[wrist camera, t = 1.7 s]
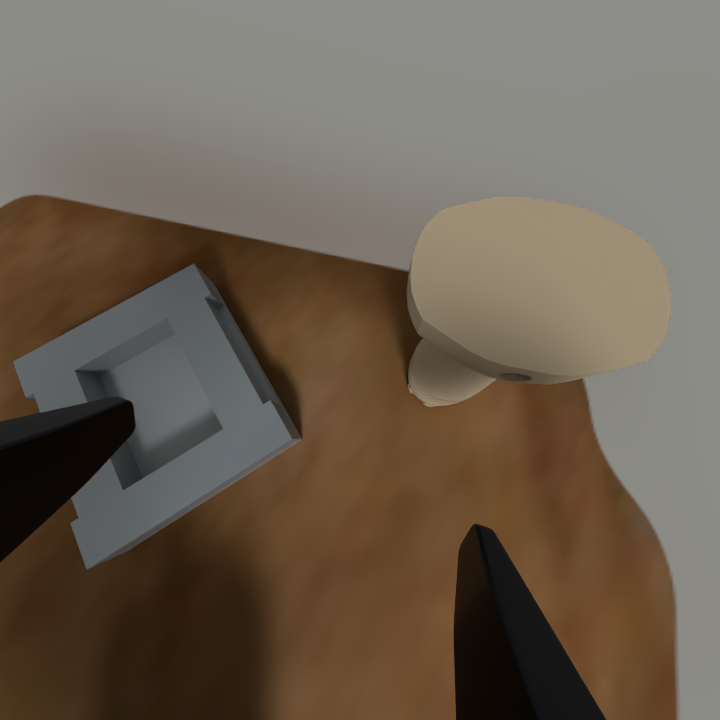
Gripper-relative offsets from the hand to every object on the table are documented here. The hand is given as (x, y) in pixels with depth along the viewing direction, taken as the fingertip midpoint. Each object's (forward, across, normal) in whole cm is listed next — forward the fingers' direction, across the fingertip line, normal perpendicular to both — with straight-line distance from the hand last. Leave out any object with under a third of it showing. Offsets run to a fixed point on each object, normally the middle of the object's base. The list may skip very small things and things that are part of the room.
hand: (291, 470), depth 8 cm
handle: (+15, -4, +4) cm, 16 cm away
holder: (+10, +12, +10) cm, 19 cm away
